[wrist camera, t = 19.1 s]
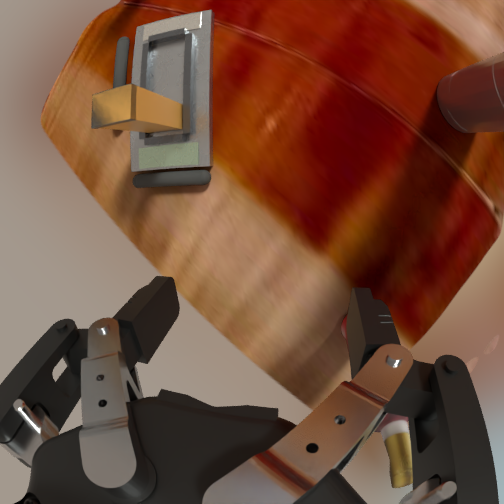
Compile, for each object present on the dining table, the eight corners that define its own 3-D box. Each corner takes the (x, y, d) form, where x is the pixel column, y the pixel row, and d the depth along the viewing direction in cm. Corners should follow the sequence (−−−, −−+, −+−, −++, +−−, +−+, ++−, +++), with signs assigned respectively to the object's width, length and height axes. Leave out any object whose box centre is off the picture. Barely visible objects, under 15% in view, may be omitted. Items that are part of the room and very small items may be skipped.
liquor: (378, 294, 39) (449, 451, 13) (385, 330, 41) (439, 479, 14) (333, 309, 41) (362, 481, 14) (344, 345, 42) (369, 502, 16)
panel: (212, 165, 36) (206, 166, 33) (136, 171, 38) (126, 172, 35) (214, 14, 28) (208, 5, 26) (141, 30, 30) (132, 23, 27)
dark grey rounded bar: (212, 169, 36) (208, 169, 34) (213, 183, 37) (208, 185, 35) (136, 174, 38) (129, 175, 36) (137, 187, 39) (130, 189, 37)
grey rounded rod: (126, 127, 36) (119, 126, 34) (116, 129, 36) (109, 128, 34) (132, 37, 31) (126, 33, 29) (122, 40, 31) (115, 37, 29)
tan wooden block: (182, 129, 33) (130, 119, 21) (150, 133, 34) (91, 128, 22) (182, 104, 32) (131, 83, 20) (150, 109, 33) (92, 94, 21)
